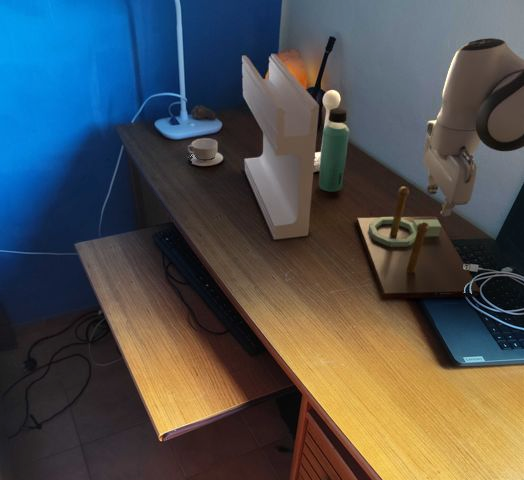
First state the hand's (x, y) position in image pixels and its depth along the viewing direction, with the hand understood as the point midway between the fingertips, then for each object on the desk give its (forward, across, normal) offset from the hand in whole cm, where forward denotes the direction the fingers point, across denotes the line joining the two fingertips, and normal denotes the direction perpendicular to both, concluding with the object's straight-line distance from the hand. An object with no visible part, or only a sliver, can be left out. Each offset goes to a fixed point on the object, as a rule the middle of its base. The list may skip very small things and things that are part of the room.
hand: (437, 203), depth 100 cm
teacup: (+8, +43, +53) cm, 68 cm away
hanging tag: (+7, 0, +6) cm, 9 cm away
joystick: (+8, +36, +20) cm, 42 cm away
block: (+8, +19, +34) cm, 40 cm away
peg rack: (+9, -7, +6) cm, 13 cm away
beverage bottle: (+8, +23, +20) cm, 31 cm away
